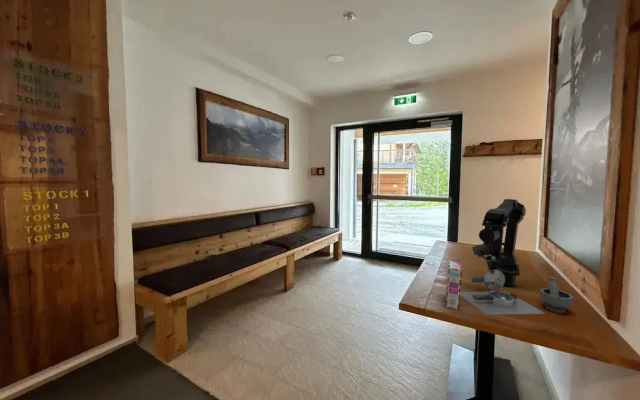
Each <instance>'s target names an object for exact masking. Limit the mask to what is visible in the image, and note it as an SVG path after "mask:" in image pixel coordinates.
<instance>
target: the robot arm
mask: <svg viewBox="0 0 640 400" xmlns="http://www.w3.org/2000/svg"><path fill="white" fill-rule="evenodd" d="M526 212H527V209H526V207H525V205H524V204H522V203H521V202H519V201H518V200H517V199H514V198H513V199H512V198H505V199H503V201H502V203H501V204H500V205H498V206H497V207H496V208H490V209H488V210H487V211H486V212H485V215H484V217H483V220H482V224H481V226H483V227H484V228H483V229H481V230H479V232H478V237H479V239H480V241H482V244H481V243H480V244H477V245H474V246H472V247H471V248H472V252H473V255H475V256H477V257H479V258H480V257H481V258H482V259H484V260H485V262H486V265H487V268H488V271H489V270H492V269H497V270H499V271H501V272H502V273H503V274H504V276H505V283H504V285H503V286H502V287H503V288H518V285H516V278H517V277H519V276H520V275H521V272H520V271H521V270H520V265H519V263H518V262H519V261H518V258H517V256H516V255H515V251H516V244H517V237H518V229H519V224H520V223H521V222H522V221H523V220H524V217H525V216H526ZM504 230H505V234H504ZM504 235H505V236H504ZM503 238H504V241H503ZM502 248H503V249H502Z"/></svg>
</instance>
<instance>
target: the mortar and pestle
mask: <svg viewBox="0 0 640 400" xmlns="http://www.w3.org/2000/svg"><path fill="white" fill-rule="evenodd" d="M547 279H548V282H549V285H548V286H549V288H541V289H540V291H539V294H540V295H539V296H540V298H541V300H542V302H543V303H544V304H545V305H544V307H545V309H547V310H549V311H551V312H554V313H559V314H563V313H566V309H568V308H570V307H571V306H572V305H573V302H574V297H573V295H572V294H570V293H568V292H565V291H563V290H559V286H558V278H557V277H555V276H551V277H548V278H547Z"/></svg>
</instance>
